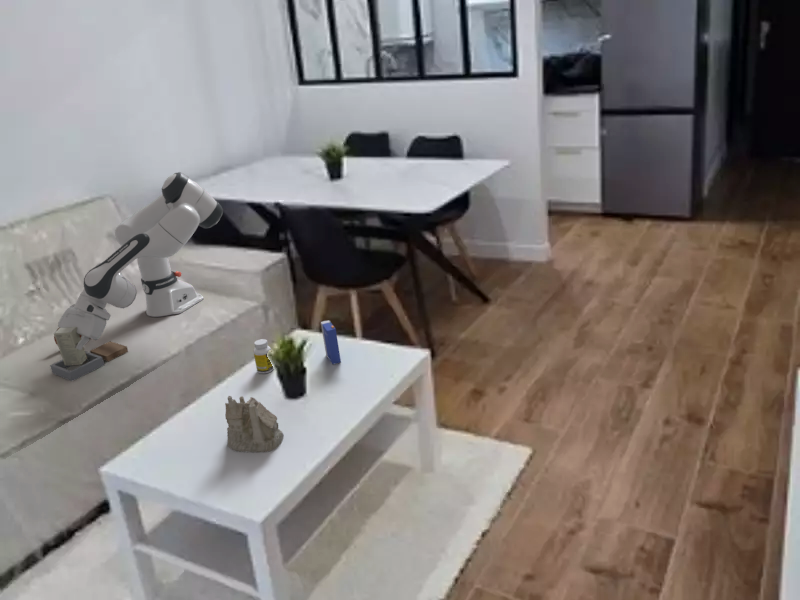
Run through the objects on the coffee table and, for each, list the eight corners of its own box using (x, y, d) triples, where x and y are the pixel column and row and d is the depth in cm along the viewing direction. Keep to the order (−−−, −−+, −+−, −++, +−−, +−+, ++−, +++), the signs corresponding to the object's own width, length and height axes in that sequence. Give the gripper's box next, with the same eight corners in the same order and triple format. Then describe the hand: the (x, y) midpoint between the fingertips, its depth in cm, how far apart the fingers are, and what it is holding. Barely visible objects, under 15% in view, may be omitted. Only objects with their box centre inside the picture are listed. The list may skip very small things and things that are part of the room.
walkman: (341, 362, 231) (335, 327, 227) (332, 364, 231) (326, 329, 226) (334, 352, 238) (328, 318, 234) (325, 354, 238) (320, 320, 233)
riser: (111, 346, 262) (110, 341, 261) (128, 351, 256) (126, 346, 256) (91, 355, 256) (89, 350, 256) (108, 361, 251) (106, 356, 250)
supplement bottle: (271, 374, 229) (265, 345, 226) (254, 374, 231) (248, 346, 227) (277, 365, 234) (271, 337, 230) (261, 365, 235) (255, 338, 232)
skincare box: (87, 358, 249) (77, 326, 244) (81, 365, 245) (71, 332, 240) (70, 359, 249) (60, 327, 245) (63, 366, 245) (53, 333, 241)
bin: (84, 357, 256) (82, 350, 254) (104, 364, 249) (102, 356, 248) (52, 373, 247) (49, 365, 246) (72, 381, 240) (69, 372, 239)
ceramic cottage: (271, 455, 188) (260, 402, 183) (216, 450, 194) (204, 399, 189) (299, 425, 202) (289, 375, 197) (247, 421, 208) (237, 373, 203)
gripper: (64, 299, 251) (45, 337, 248) (98, 309, 239) (79, 349, 236) (79, 306, 256) (61, 343, 253) (113, 316, 244) (95, 355, 241)
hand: (70, 346), depth 245 cm, fingers closed on skincare box, 7 cm apart
